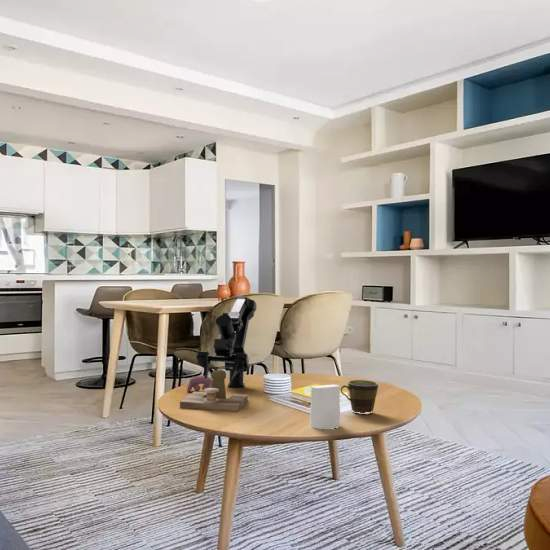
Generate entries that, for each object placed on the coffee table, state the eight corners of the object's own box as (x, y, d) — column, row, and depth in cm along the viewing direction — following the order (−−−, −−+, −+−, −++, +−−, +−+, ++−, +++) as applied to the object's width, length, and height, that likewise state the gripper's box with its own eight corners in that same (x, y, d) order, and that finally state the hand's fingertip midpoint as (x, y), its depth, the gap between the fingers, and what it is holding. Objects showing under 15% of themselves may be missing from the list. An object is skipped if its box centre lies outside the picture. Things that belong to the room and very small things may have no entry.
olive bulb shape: (224, 398, 196) (225, 368, 196) (228, 402, 190) (229, 371, 190) (208, 399, 194) (209, 369, 194) (211, 403, 188) (212, 372, 188)
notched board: (194, 396, 197) (194, 380, 197) (247, 400, 194) (248, 383, 194) (179, 407, 181) (180, 389, 181) (237, 411, 178) (238, 393, 178)
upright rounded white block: (328, 420, 170) (329, 382, 170) (345, 427, 162) (346, 388, 162) (304, 423, 166) (305, 384, 166) (320, 431, 158) (321, 390, 158)
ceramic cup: (369, 408, 187) (370, 379, 187) (382, 415, 177) (383, 385, 177) (334, 410, 184) (335, 380, 183) (346, 417, 174) (346, 386, 174)
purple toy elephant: (213, 395, 207) (215, 377, 210) (211, 392, 203) (213, 374, 206) (188, 394, 208) (190, 376, 211) (185, 391, 204) (188, 373, 207)
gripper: (198, 329, 198) (188, 364, 187) (248, 331, 195) (240, 366, 184) (204, 347, 206) (194, 382, 195) (252, 349, 203) (244, 385, 192)
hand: (218, 378), depth 191 cm, fingers open, 9 cm apart
